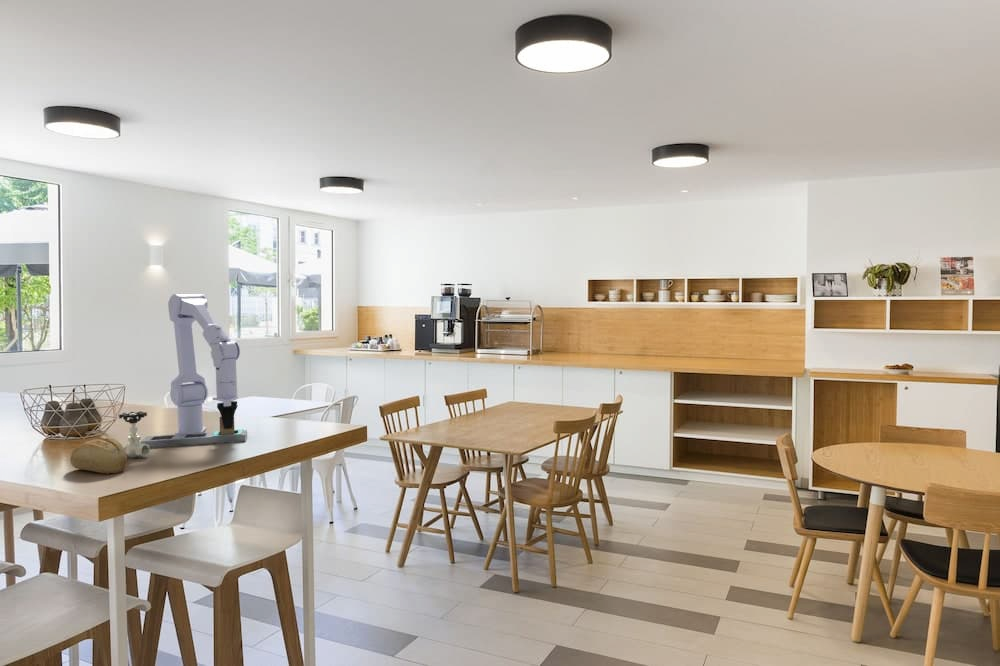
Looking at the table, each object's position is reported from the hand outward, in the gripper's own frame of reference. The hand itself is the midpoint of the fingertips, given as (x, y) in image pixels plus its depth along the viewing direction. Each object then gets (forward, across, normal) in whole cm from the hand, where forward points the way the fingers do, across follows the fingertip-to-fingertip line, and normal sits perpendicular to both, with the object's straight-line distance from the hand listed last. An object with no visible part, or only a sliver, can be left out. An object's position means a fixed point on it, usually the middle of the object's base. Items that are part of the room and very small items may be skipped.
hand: (228, 427), depth 206 cm
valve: (+4, +14, -24) cm, 28 cm away
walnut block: (+3, 0, 0) cm, 3 cm away
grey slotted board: (+4, -1, -9) cm, 10 cm away
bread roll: (+4, +26, -30) cm, 40 cm away
